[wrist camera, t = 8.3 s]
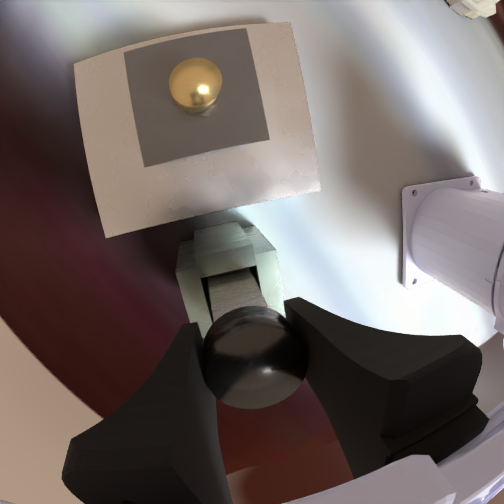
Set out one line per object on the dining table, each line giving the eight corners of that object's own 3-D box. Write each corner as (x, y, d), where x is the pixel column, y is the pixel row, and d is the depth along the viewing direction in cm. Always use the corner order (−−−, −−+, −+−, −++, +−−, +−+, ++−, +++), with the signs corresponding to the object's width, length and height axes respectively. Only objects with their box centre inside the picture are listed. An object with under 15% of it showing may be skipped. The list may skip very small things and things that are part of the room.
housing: (229, 64, 14) (254, 11, 7) (246, 144, 15) (281, 137, 9) (143, 82, 13) (114, 38, 7) (159, 164, 15) (136, 169, 8)
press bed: (280, 34, 15) (308, 0, 10) (318, 272, 20) (352, 306, 16) (84, 72, 14) (52, 48, 9) (141, 314, 19) (130, 359, 14)
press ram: (253, 244, 16) (303, 318, 9) (263, 299, 17) (310, 393, 10) (191, 258, 15) (193, 346, 8) (206, 313, 16) (220, 417, 9)
